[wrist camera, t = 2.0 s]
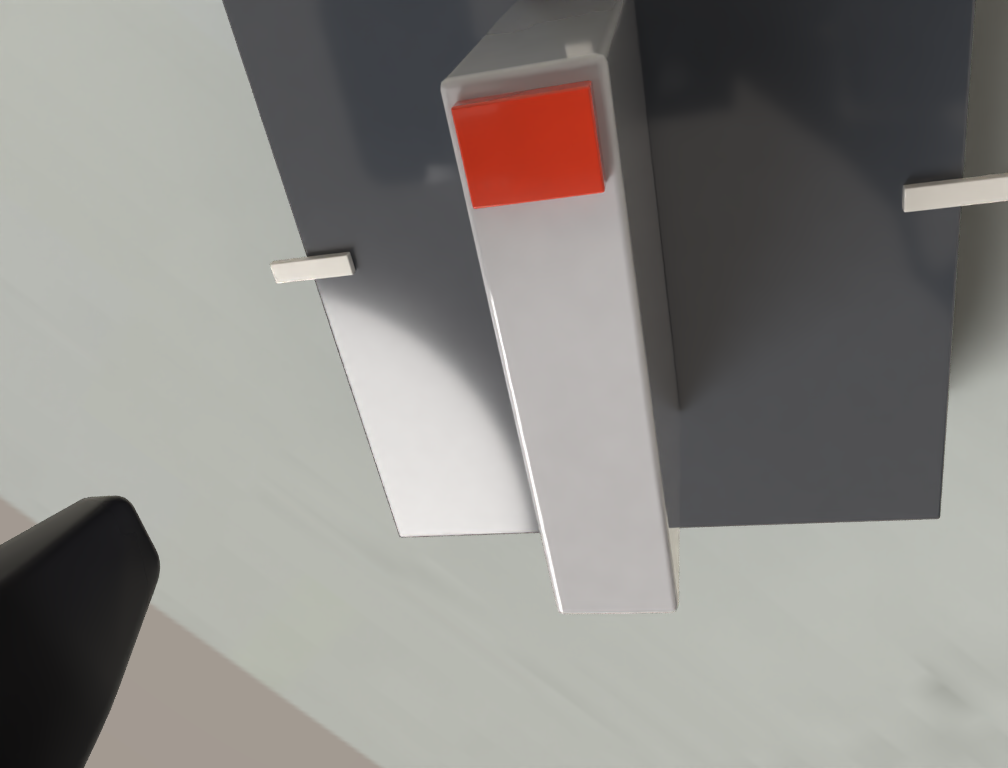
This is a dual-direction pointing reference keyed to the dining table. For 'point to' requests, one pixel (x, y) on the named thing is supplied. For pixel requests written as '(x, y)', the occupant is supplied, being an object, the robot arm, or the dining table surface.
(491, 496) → the base
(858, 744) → the dining table surface
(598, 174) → the red-tipped white block
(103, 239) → the dining table surface
